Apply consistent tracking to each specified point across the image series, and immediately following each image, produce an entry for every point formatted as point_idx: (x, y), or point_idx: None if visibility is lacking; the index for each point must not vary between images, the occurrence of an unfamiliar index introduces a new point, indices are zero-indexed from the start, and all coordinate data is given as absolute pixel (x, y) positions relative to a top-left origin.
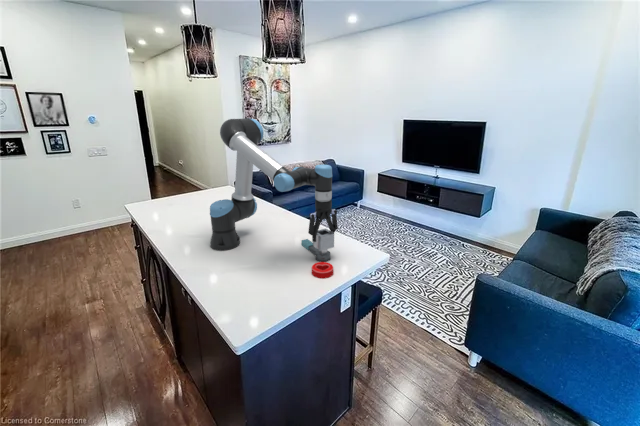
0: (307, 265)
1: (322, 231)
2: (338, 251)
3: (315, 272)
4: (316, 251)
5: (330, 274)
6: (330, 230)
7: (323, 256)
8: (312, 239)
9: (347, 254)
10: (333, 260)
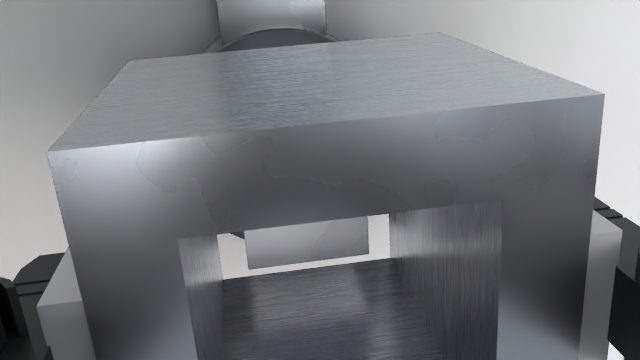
0: (9, 208)
1: (400, 196)
2: (567, 22)
3: None
4: (228, 14)
5: None
6: (621, 277)
7: (244, 238)
8: (17, 284)
9: (604, 148)
10: (372, 216)
